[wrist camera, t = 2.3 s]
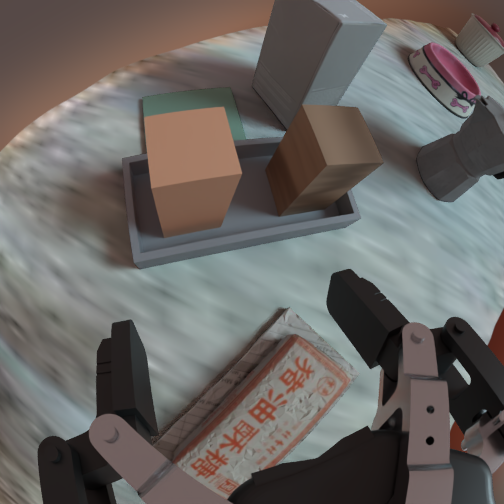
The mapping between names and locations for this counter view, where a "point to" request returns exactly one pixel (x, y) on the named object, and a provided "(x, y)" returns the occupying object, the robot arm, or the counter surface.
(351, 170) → the walnut block
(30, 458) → the counter surface
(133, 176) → the grey bin
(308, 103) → the skincare box
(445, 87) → the dog bowl
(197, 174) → the terracotta carton
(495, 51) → the canister
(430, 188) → the coffeepot
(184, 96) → the green mat
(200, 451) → the packaged product
